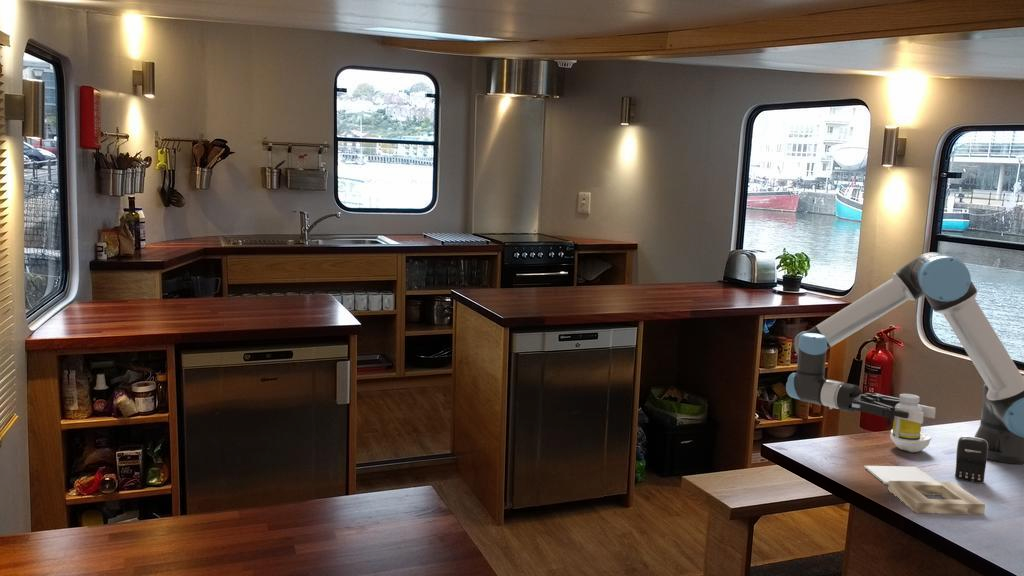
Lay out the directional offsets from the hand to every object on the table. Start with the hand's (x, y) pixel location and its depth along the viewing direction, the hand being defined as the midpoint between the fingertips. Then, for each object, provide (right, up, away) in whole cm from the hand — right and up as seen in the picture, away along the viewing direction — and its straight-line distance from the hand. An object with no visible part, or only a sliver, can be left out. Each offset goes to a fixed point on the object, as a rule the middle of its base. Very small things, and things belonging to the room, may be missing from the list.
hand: (928, 415), depth 205 cm
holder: (-4, -19, -10) cm, 22 cm away
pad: (-4, -17, +7) cm, 19 cm away
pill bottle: (-3, -7, +5) cm, 9 cm away
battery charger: (+13, -18, +5) cm, 23 cm away
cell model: (+9, -15, +29) cm, 34 cm away
